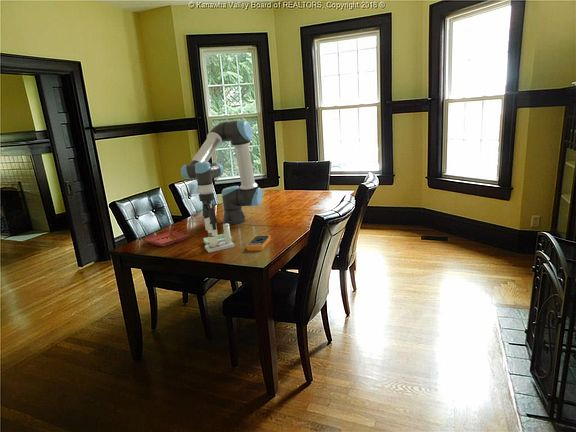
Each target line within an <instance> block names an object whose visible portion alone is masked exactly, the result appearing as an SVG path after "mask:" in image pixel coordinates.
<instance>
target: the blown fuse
mask: <svg viewBox="0 0 576 432" xmlns="http://www.w3.org/2000/svg"><path fill="white" fill-rule="evenodd" d="M207 229H208V230H207V235H208V237H209V243H210V248H215V247H218V244H217V237H216V236H212V231H211V225H210V227H207Z"/></svg>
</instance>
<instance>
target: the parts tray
mask: <svg viewBox="0 0 576 432" xmlns="http://www.w3.org/2000/svg"><path fill="white" fill-rule="evenodd" d="M216 237H217V243H218V242H224V241H225V236H224V233H221V234H218V235H217V236H216ZM202 240H203V243H204V244H205V246H206V245H210V243H209V237H203V239H202ZM231 242H233V243H234V239H233V236H231Z"/></svg>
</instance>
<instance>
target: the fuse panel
mask: <svg viewBox="0 0 576 432" xmlns="http://www.w3.org/2000/svg"><path fill="white" fill-rule="evenodd" d="M217 244H218V247H215V248H210V245H206V244H205V245H204V249H205V250H206V251H207V253H209V254H210V253H215V252H217V251H218V252H219V251H222V250H227V249H230V248H231V249H232V248H235V243H234V241H233V242H231V243H230V244H226V243H225V241H224V242H218V243H217Z"/></svg>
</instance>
